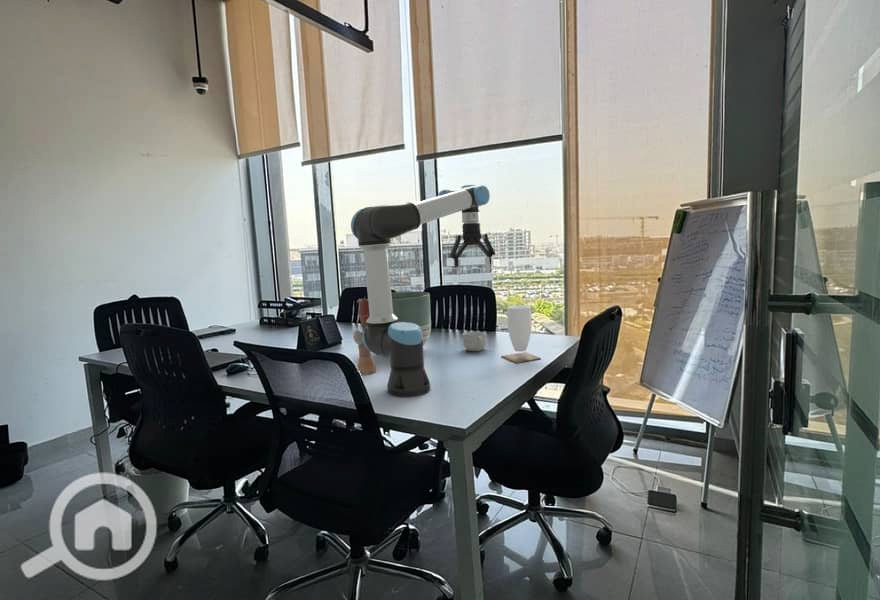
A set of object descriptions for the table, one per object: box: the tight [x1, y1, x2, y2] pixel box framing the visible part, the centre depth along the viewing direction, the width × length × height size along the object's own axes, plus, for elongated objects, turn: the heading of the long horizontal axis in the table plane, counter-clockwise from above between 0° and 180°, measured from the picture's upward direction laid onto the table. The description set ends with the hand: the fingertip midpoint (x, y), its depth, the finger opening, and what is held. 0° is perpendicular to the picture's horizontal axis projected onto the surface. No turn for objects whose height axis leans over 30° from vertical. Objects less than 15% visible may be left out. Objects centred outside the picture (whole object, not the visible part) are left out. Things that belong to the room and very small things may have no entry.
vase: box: [352, 298, 377, 376], centre depth 194 cm, size 10×7×30 cm
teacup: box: [462, 331, 487, 352], centre depth 221 cm, size 14×11×8 cm
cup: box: [506, 304, 533, 352], centre depth 202 cm, size 10×10×22 cm
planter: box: [391, 291, 432, 347], centre depth 225 cm, size 27×27×27 cm
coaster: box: [501, 351, 542, 364], centre depth 204 cm, size 12×12×1 cm
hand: (473, 273), depth 205 cm, fingers open, 13 cm apart
